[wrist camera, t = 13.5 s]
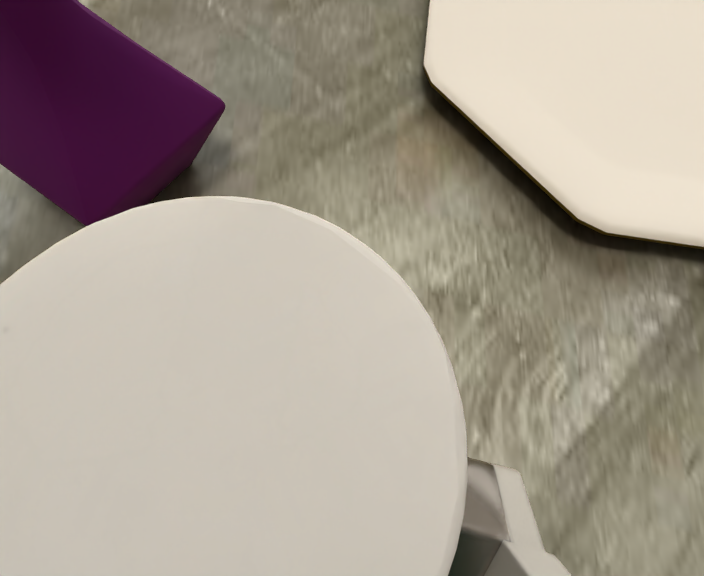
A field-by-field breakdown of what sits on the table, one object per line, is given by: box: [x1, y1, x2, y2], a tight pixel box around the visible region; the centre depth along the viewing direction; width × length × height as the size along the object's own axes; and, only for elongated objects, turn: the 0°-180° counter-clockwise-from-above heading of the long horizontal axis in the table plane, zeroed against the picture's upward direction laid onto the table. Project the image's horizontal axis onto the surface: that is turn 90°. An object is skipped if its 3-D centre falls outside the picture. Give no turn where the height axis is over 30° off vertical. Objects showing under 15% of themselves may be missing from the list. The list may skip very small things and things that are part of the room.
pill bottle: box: [0, 196, 468, 576], centre depth 8 cm, size 6×6×11 cm
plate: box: [423, 0, 704, 249], centre depth 24 cm, size 28×28×2 cm
